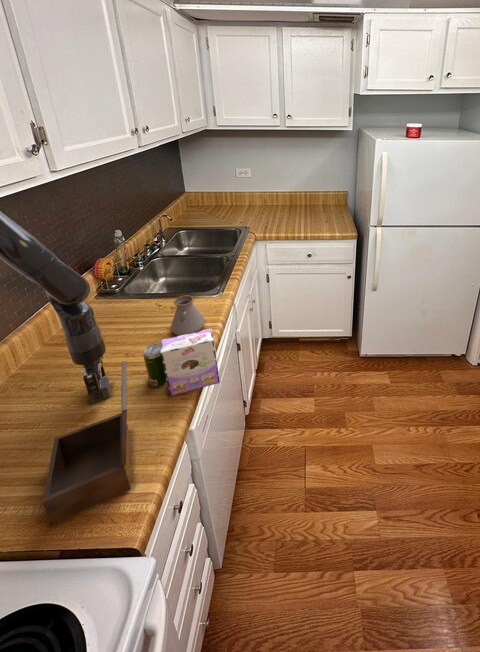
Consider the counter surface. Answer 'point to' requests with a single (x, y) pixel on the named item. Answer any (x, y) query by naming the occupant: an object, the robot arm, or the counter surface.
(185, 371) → the candy box
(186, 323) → the coffee pot
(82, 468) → the box
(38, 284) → the robot arm
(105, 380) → the block
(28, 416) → the counter surface
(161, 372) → the beer can
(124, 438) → the lid
